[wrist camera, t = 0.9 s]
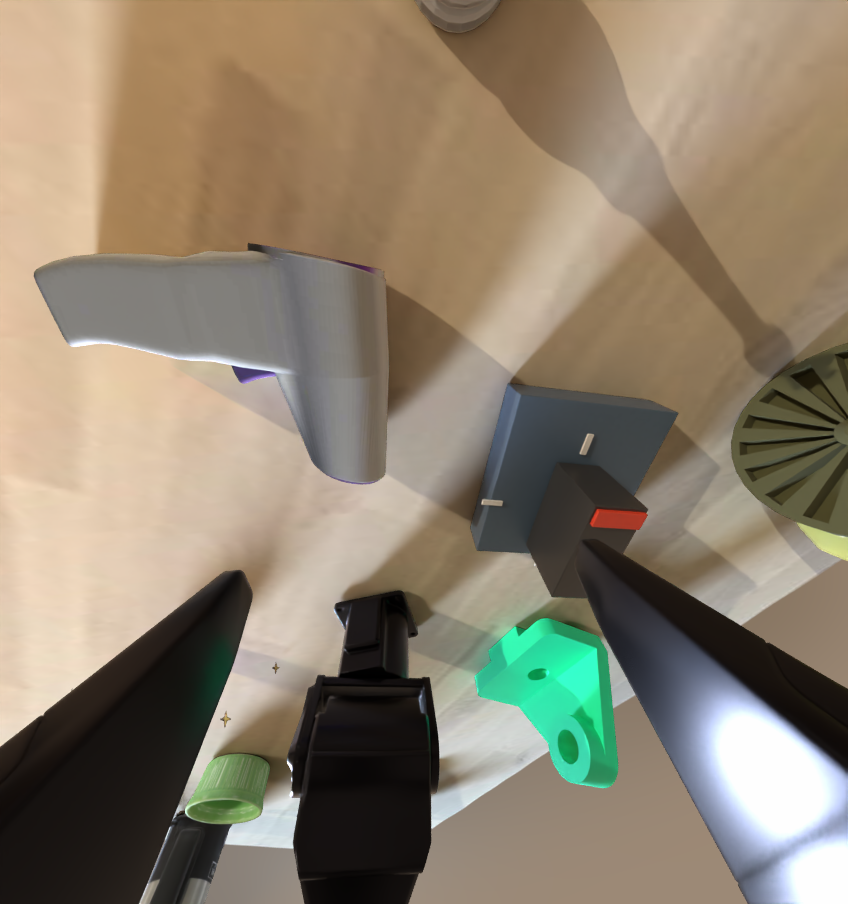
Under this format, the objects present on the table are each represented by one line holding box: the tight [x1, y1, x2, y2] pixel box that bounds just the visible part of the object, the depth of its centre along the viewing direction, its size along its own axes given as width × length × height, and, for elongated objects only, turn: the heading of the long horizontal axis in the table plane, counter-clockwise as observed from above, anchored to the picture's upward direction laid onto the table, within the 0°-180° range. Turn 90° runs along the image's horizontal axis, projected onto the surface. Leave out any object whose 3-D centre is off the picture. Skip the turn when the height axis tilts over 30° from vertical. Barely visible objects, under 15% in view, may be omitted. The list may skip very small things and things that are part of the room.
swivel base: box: [470, 383, 678, 566], centre depth 22 cm, size 13×11×3 cm
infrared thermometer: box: [34, 243, 389, 484], centre depth 17 cm, size 5×12×15 cm
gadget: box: [526, 462, 648, 598], centre depth 19 cm, size 7×3×5 cm, turn 172°
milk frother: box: [139, 814, 232, 904], centre depth 43 cm, size 14×16×15 cm
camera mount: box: [475, 618, 618, 788], centre depth 29 cm, size 12×8×10 cm, turn 149°
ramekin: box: [185, 754, 270, 824], centre depth 40 cm, size 9×9×4 cm
